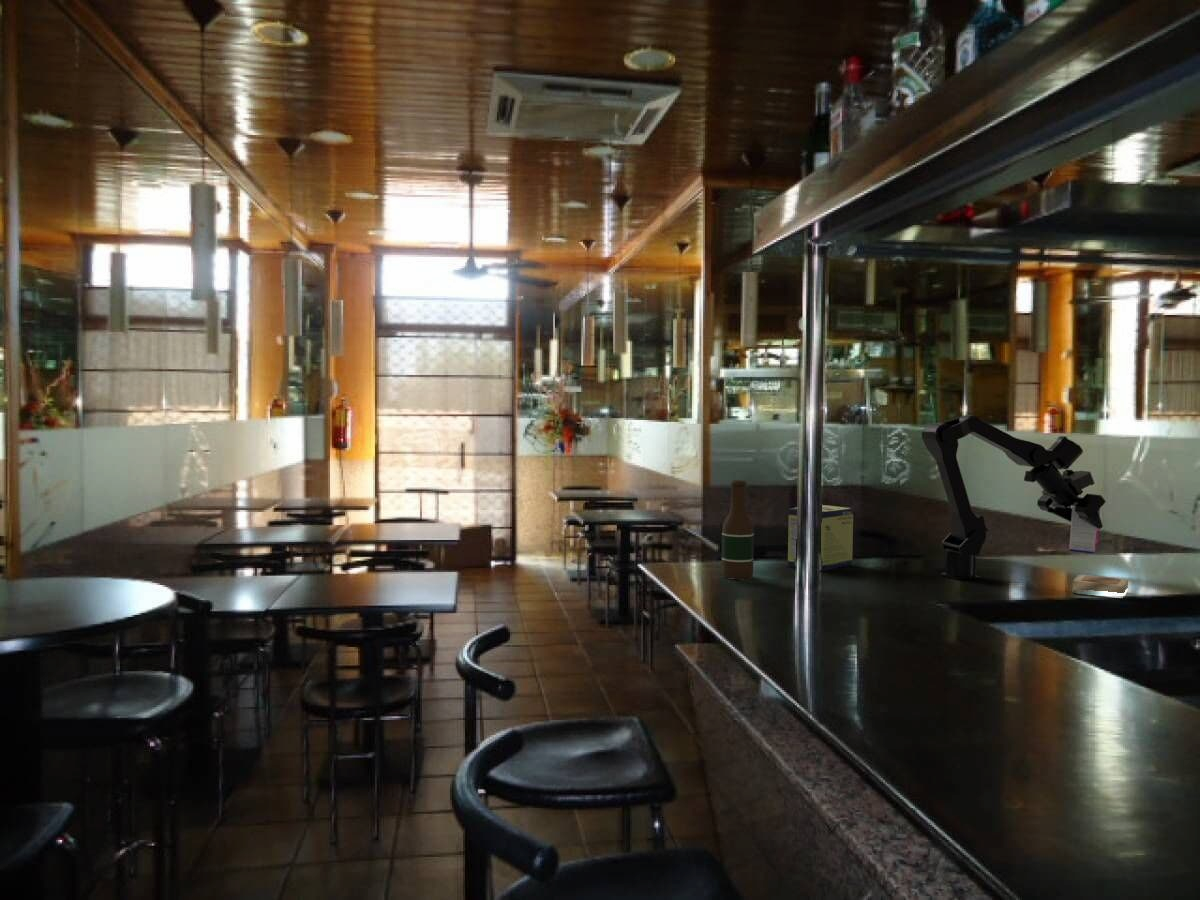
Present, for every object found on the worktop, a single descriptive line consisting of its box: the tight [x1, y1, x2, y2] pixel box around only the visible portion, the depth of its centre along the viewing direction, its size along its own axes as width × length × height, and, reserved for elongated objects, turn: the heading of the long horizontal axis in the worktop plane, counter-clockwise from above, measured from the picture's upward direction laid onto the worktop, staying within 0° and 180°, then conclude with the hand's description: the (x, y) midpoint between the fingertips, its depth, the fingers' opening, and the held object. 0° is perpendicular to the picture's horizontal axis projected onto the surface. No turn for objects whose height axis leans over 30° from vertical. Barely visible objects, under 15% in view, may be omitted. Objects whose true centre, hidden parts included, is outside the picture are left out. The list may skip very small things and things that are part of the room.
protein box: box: [787, 504, 854, 572], centre depth 239 cm, size 10×16×16 cm
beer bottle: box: [721, 479, 755, 580], centre depth 221 cm, size 8×8×24 cm
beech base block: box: [1072, 574, 1129, 593], centre depth 206 cm, size 10×10×3 cm
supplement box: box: [1068, 506, 1101, 555], centre depth 230 cm, size 6×6×12 cm
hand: (1089, 525), depth 230 cm, fingers closed on supplement box, 8 cm apart
